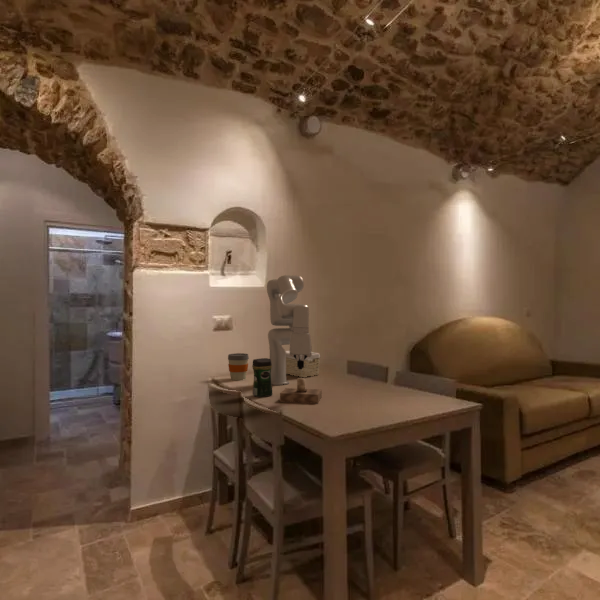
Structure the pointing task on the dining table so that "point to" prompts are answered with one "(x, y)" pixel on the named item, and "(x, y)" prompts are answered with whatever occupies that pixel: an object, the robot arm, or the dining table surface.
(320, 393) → the board
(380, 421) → the dining table surface
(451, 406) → the dining table surface
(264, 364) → the coffee jar
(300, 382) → the peg
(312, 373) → the storage basket
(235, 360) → the reusable coffee cup
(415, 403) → the dining table surface
